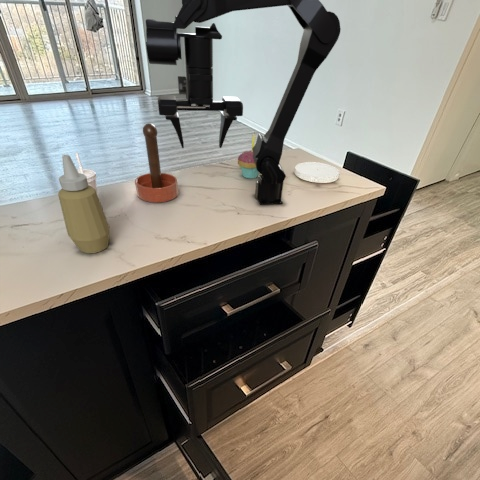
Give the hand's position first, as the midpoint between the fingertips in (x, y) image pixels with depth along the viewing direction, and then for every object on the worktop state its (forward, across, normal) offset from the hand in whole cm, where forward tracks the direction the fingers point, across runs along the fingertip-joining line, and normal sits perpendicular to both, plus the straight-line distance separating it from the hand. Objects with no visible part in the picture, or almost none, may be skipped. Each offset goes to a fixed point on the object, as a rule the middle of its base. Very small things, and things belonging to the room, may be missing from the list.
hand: (201, 147), depth 78 cm
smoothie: (+13, +28, +6) cm, 32 cm away
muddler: (+13, +12, -4) cm, 18 cm away
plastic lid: (+13, -38, -13) cm, 42 cm away
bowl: (+13, +12, -4) cm, 18 cm away
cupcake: (+13, -17, -16) cm, 27 cm away
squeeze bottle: (+13, +26, +21) cm, 36 cm away
